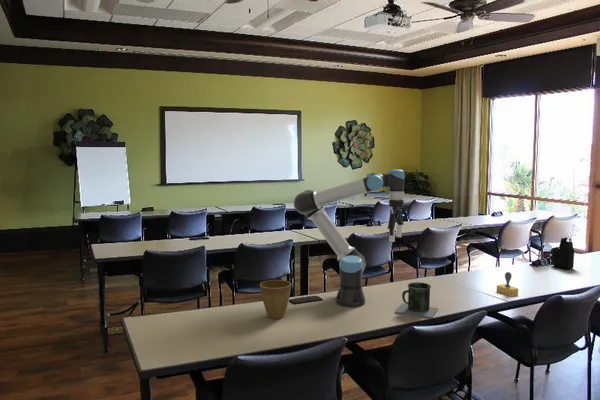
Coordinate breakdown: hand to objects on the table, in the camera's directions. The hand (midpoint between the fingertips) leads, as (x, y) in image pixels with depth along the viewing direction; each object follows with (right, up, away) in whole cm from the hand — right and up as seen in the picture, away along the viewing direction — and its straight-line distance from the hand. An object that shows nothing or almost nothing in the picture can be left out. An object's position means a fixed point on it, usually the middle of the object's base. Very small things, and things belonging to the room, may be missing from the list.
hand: (395, 239), depth 265 cm
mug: (+7, -33, -17) cm, 38 cm away
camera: (+122, -24, +68) cm, 142 cm away
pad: (+7, -34, -18) cm, 39 cm away
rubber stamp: (+64, -31, +12) cm, 72 cm away
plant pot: (-62, -35, -25) cm, 75 cm away
